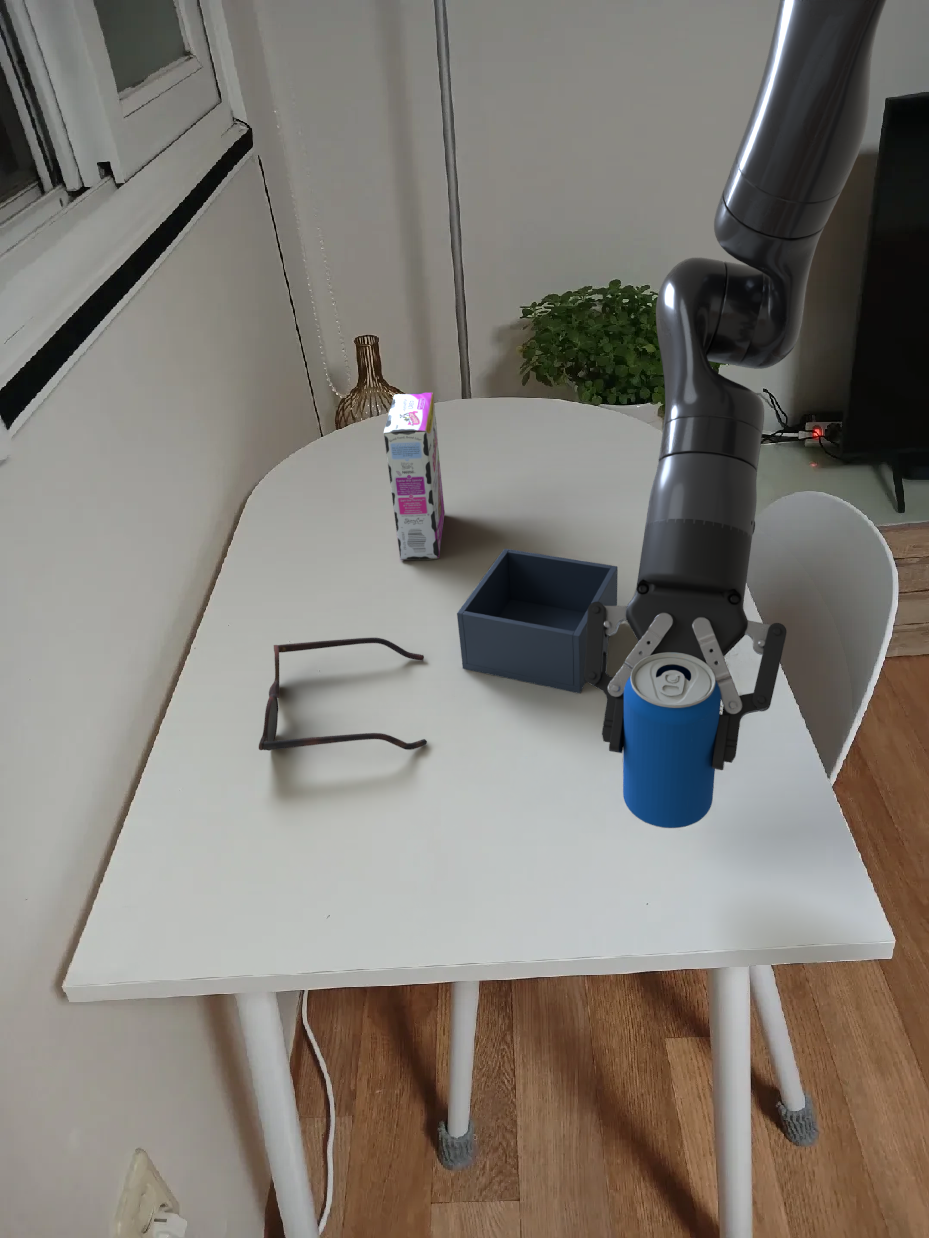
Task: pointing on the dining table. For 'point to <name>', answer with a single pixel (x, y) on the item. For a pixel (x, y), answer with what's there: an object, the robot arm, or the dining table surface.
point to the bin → (534, 618)
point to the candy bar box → (415, 475)
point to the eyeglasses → (271, 729)
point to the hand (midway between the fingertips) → (666, 759)
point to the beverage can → (670, 739)
